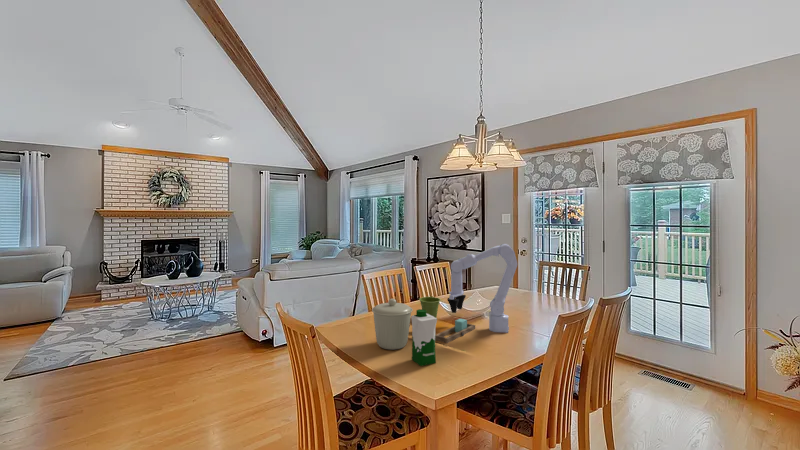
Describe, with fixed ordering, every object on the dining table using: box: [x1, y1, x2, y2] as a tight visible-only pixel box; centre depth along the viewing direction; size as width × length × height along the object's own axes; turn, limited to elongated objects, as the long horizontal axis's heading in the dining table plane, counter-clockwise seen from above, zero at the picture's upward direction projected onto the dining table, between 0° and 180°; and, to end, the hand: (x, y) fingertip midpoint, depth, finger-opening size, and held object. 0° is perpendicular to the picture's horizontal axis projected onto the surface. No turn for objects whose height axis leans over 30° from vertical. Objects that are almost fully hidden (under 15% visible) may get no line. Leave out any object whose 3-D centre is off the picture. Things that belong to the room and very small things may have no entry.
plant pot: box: [418, 296, 442, 318], centre depth 202 cm, size 12×12×11 cm
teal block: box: [454, 318, 468, 333], centre depth 178 cm, size 5×4×6 cm
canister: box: [371, 298, 414, 351], centre depth 161 cm, size 18×18×21 cm
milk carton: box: [410, 308, 438, 367], centre depth 145 cm, size 9×9×20 cm
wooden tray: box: [435, 322, 476, 346], centre depth 174 cm, size 26×8×3 cm, turn 140°
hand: (456, 310), depth 185 cm, fingers open, 7 cm apart
